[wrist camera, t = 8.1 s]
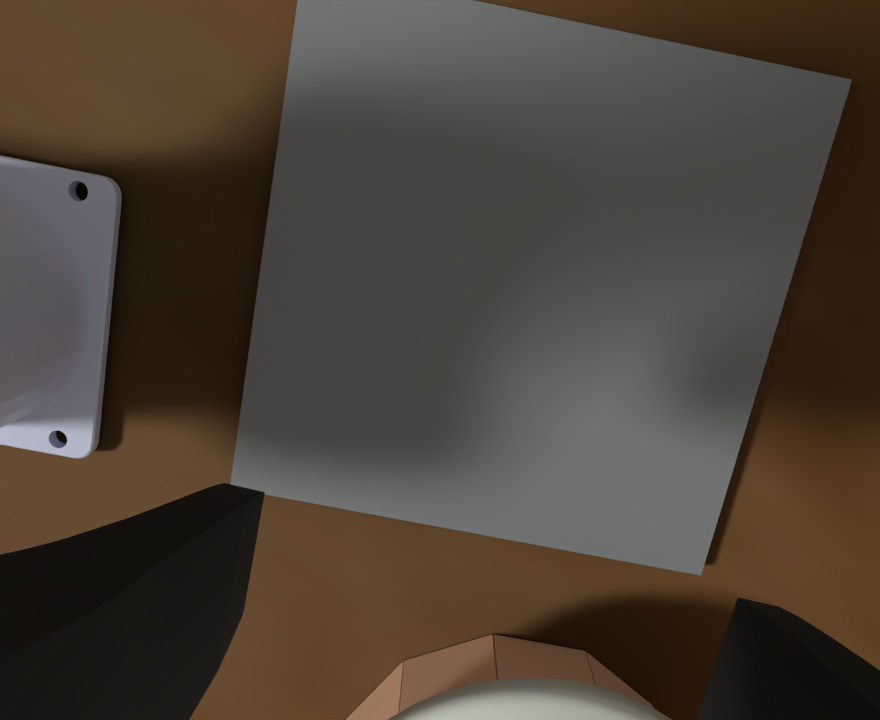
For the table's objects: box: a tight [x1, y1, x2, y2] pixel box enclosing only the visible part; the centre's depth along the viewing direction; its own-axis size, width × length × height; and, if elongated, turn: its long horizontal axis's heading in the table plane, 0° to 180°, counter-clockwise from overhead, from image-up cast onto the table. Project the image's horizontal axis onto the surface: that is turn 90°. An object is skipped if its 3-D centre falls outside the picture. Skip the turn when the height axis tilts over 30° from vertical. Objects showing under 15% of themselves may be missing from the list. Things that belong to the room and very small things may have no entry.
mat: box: [230, 0, 852, 575], centre depth 20 cm, size 14×14×1 cm
